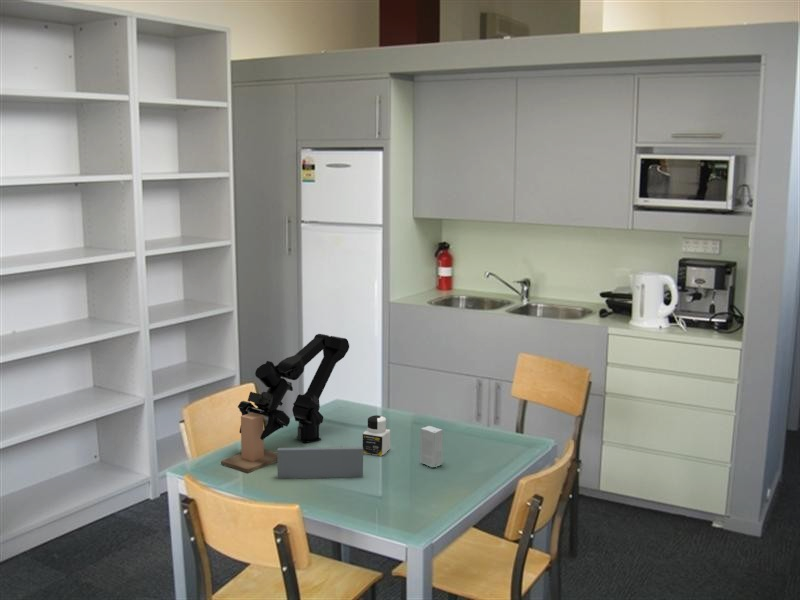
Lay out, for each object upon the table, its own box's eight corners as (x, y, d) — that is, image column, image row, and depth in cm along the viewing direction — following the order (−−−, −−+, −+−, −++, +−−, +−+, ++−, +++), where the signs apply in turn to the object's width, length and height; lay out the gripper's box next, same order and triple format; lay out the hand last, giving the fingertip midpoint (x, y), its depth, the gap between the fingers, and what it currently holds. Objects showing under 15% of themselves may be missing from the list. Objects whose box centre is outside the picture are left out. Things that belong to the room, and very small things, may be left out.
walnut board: (257, 450, 281) (257, 447, 280) (283, 458, 274) (283, 454, 274) (221, 464, 268) (221, 460, 268) (248, 473, 261) (248, 469, 261)
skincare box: (442, 465, 270) (443, 429, 268) (433, 469, 267) (434, 432, 265) (428, 460, 274) (429, 425, 272) (419, 463, 271) (420, 428, 269)
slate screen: (278, 471, 263) (278, 443, 262) (361, 469, 266) (362, 442, 264) (277, 478, 257) (277, 450, 256) (362, 476, 260) (363, 448, 258)
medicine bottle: (362, 453, 280) (362, 418, 278) (370, 446, 286) (371, 412, 284) (381, 456, 277) (382, 421, 275) (390, 449, 284) (390, 415, 282)
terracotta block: (263, 457, 271) (263, 415, 269) (252, 461, 267) (252, 419, 265) (252, 453, 274) (252, 412, 272) (241, 458, 270) (240, 416, 268)
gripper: (241, 376, 275) (216, 417, 268) (283, 386, 265) (258, 429, 258) (258, 394, 283) (235, 434, 276) (300, 405, 272) (277, 447, 266)
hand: (250, 436), depth 269 cm, fingers open, 9 cm apart
